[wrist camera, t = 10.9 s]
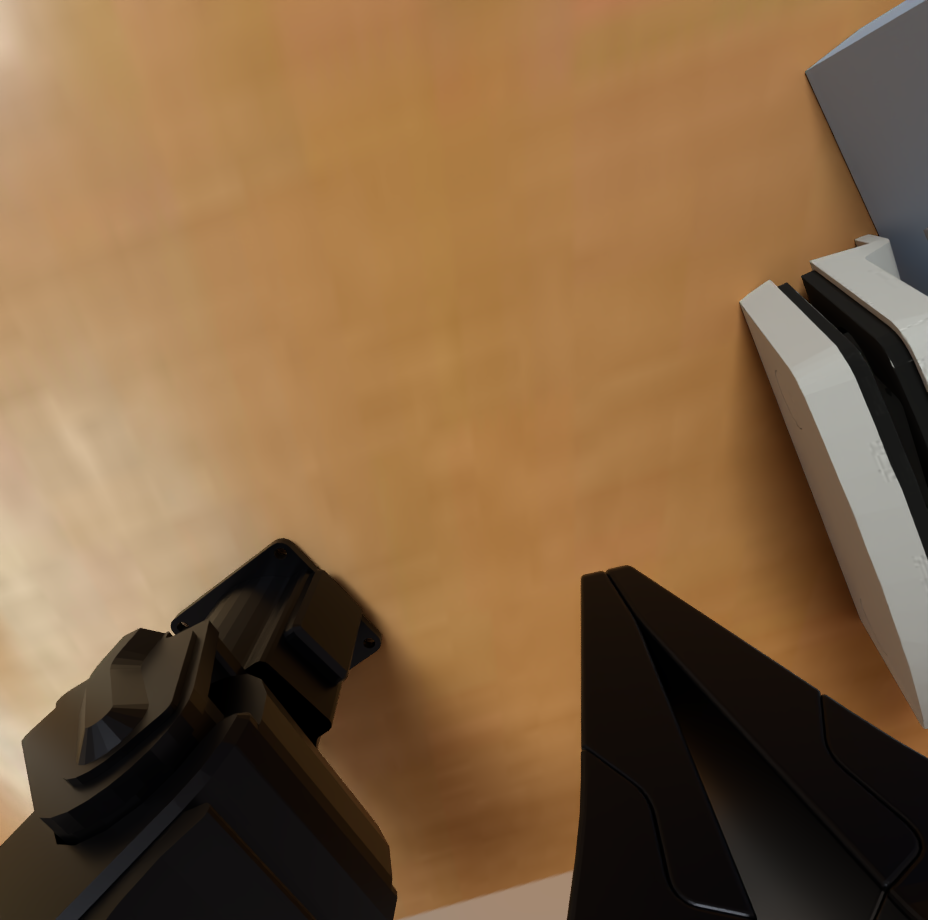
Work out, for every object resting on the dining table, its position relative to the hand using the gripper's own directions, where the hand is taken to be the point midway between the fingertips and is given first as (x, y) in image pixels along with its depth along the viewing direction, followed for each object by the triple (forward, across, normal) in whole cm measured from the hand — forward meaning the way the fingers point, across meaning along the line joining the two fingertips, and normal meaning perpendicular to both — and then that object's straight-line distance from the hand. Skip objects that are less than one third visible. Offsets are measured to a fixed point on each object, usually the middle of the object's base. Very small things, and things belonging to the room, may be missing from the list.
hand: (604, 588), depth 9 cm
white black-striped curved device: (+11, -13, +7) cm, 19 cm away
